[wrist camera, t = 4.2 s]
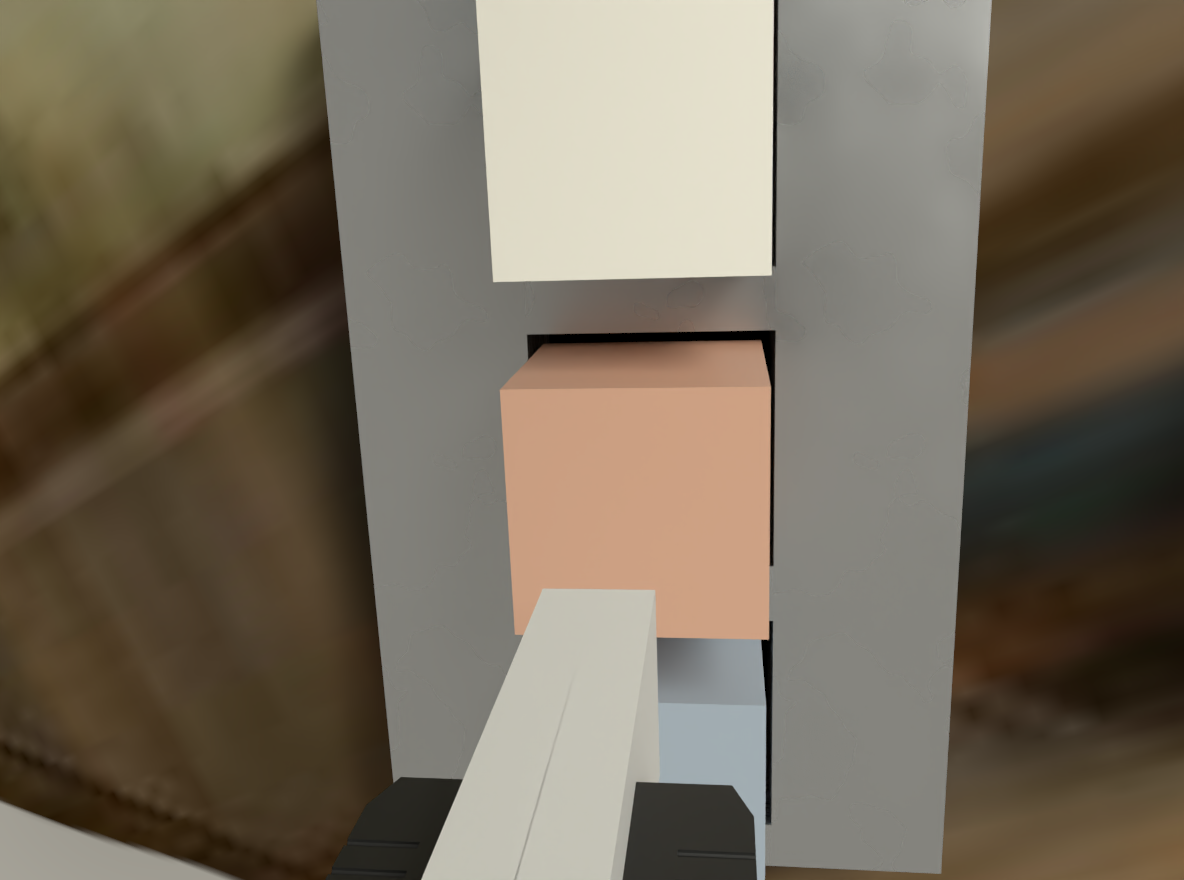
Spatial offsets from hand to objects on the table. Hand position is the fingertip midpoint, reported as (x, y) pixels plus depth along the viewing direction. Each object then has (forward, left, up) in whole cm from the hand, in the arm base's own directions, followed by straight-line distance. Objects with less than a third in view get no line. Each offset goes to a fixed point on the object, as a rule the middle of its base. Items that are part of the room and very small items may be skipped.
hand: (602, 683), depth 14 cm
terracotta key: (0, 0, -11) cm, 11 cm away
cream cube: (-7, 0, -11) cm, 13 cm away
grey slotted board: (0, 0, -14) cm, 14 cm away
